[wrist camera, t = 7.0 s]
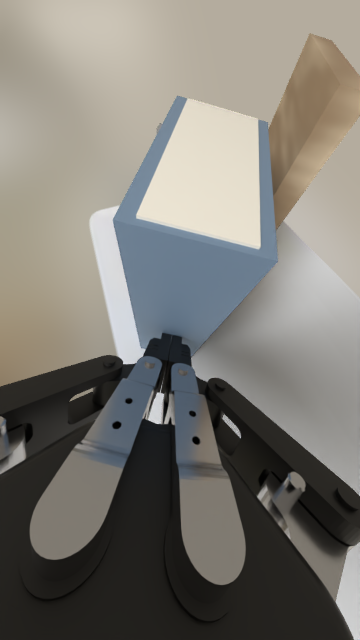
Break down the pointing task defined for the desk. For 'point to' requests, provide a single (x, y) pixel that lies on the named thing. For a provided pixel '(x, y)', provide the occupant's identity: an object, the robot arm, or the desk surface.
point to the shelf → (310, 120)
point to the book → (197, 222)
